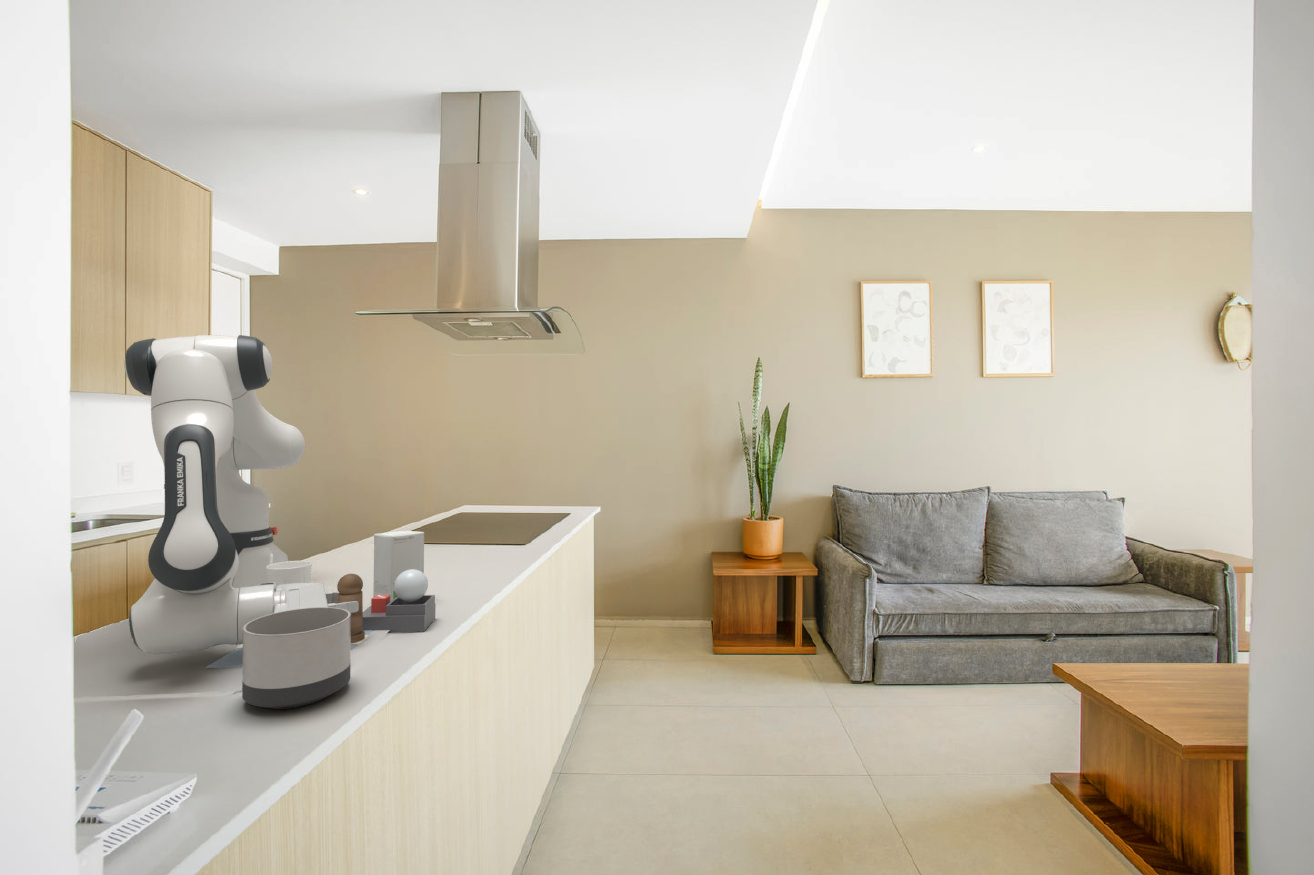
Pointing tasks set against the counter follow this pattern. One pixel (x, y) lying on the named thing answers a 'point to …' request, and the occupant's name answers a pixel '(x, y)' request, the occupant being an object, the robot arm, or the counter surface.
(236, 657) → the board
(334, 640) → the planter
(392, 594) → the skincare box
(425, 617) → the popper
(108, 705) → the counter surface
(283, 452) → the robot arm
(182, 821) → the counter surface
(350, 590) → the brown pepper mill
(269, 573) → the white cup
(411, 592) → the ball
